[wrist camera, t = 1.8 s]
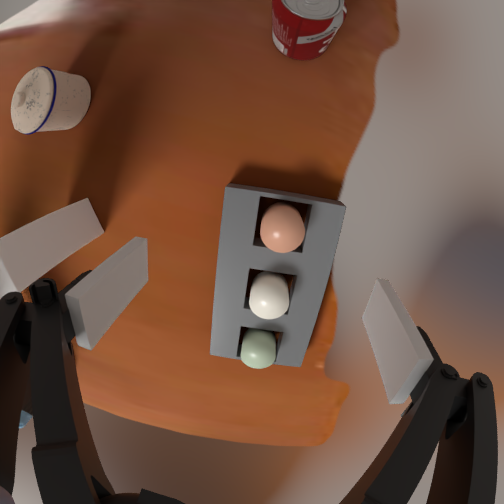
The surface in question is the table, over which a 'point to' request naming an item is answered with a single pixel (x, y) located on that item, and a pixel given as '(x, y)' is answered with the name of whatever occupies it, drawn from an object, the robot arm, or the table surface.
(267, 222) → the button terracotta
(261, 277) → the button cream
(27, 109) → the teacup with lid
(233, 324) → the button panel
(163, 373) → the table surface
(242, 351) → the button sage
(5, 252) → the milk
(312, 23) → the soda can
